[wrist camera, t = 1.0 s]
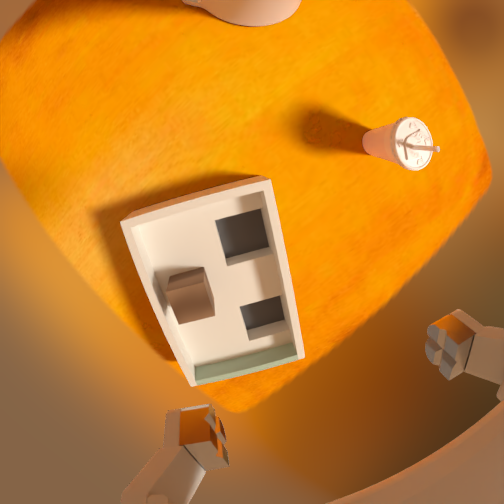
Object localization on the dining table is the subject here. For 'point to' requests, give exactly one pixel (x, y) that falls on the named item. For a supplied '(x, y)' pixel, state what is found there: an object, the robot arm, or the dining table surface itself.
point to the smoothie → (401, 143)
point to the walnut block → (190, 296)
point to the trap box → (221, 278)
